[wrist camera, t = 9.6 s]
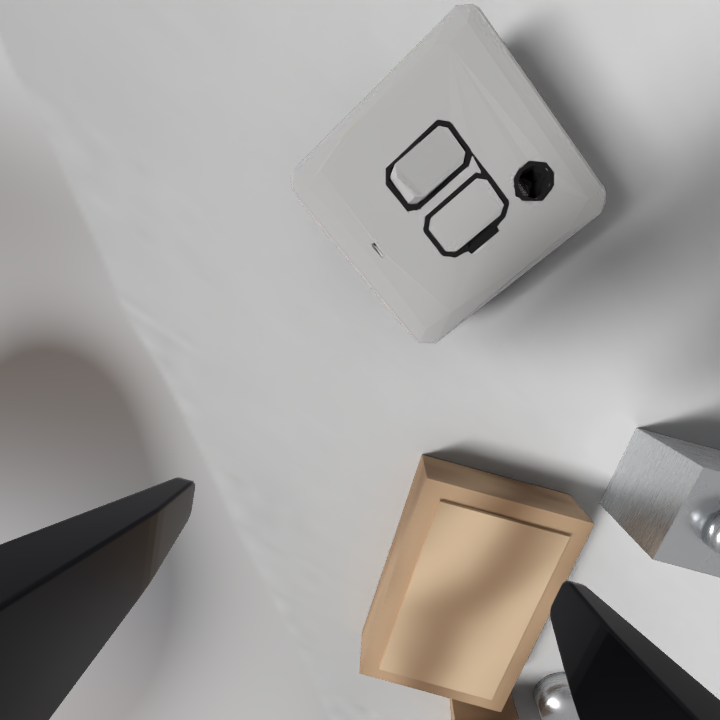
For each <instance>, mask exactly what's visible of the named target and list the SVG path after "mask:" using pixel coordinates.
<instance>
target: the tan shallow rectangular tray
mask: <svg viewBox="0 0 720 720" xmlns="http://www.w3.org/2000/svg"><path fill="white" fill-rule="evenodd" d="M593 526H594V522H593V521H592V520H591V519H590V518H589V517H588V515H587V514H586V513H585V512H584V511H583V510H582V508H581V507H580V506H579V505H578V504H577V502H576V501H575V500H574V499H573V498H572V497H571V495H569V494H565V493H562V492H558V491H554V490H551V489H547V488H543V487H539V486H536V485H532V484H528V483H525V482H521V481H517V480H514V479H510V478H506V477H503V476H499V475H495V474H492V473H488V472H484V471H481V470H477V469H473V468H469V467H466V466H462V465H458V464H455V463H451V462H447V461H444V460H440V459H436V458H433V457H429V456H425V455H422V456H421V459H420V462H419V465H418V468H417V471H416V474H415V477H414V480H413V483H412V486H411V489H410V492H409V495H408V498H407V501H406V504H405V507H404V510H403V513H402V516H401V519H400V522H399V525H398V528H397V531H396V534H395V537H394V540H393V543H392V546H391V548H390V551H389V554H388V557H387V560H386V563H385V566H384V569H383V572H382V575H381V578H380V581H379V584H378V587H377V590H376V593H375V596H374V599H373V602H372V605H371V608H370V611H369V614H368V617H367V620H366V623H365V626H364V629H363V632H362V641H361V656H360V672H359V673H360V674H364V675H367V676H371V677H375V678H378V679H382V680H385V681H389V682H393V683H396V684H400V685H404V686H407V687H411V688H414V689H418V690H422V691H425V692H429V693H433V694H436V695H440V696H443V697H447V698H451V699H454V700H458V701H462V702H465V703H469V704H472V705H476V706H480V707H483V708H487V709H491V710H494V711H498V712H501V711H502V709H503V707H504V705H505V703H506V701H507V699H508V697H509V695H510V693H511V691H512V689H513V687H514V685H515V683H516V681H517V679H518V677H519V675H520V673H521V671H522V669H523V667H524V665H525V663H526V661H527V659H528V657H529V655H530V653H531V651H532V649H533V647H534V645H535V643H536V641H537V639H538V637H539V635H540V633H541V631H542V629H543V627H544V625H545V623H546V621H547V618H548V616H549V614H550V610H551V606H552V603H553V601H554V599H555V597H556V595H557V593H558V591H559V589H560V587H561V585H562V583H563V582H565V581H566V580H567V578H568V576H569V574H570V572H571V570H572V568H573V566H574V564H575V562H576V560H577V558H578V556H579V554H580V552H581V550H582V548H583V546H584V544H585V542H586V540H587V538H588V536H589V534H590V532H591V530H592V528H593Z"/></svg>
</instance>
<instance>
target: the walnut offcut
mask: <svg viewBox="0 0 720 720" xmlns="http://www.w3.org/2000/svg"><path fill="white" fill-rule="evenodd" d="M450 708H451V720H519V718H518V715H517V711H516V708H515V705H514V702H513V698H512V695H511V693H510V695H509V697H508V699H507V701H506V703H505V705H504V707H503V709H502V711H501V712H498V711H494V710H491V709H487V708H483V707H480V706H476V705H472V704H469V703H465V702H462V701H458V700H454V699H451V698H450Z"/></svg>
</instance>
